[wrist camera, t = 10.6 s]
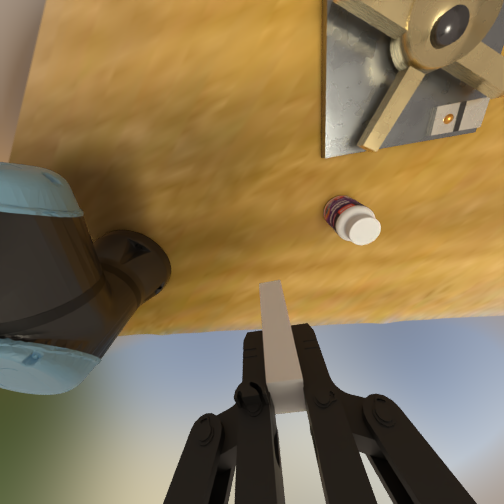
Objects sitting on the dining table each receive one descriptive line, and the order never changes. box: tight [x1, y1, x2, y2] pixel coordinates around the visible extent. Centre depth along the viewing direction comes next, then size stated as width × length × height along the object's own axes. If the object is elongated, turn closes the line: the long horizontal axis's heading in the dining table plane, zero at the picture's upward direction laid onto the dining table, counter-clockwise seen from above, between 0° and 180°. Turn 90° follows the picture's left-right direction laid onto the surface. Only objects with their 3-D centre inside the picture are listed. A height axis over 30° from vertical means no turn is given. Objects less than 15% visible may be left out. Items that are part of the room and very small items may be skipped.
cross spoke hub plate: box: [321, 0, 504, 158], centre depth 23 cm, size 20×20×3 cm
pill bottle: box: [324, 196, 381, 245], centre depth 30 cm, size 5×5×10 cm
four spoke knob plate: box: [333, 0, 504, 152], centre depth 20 cm, size 22×22×4 cm
